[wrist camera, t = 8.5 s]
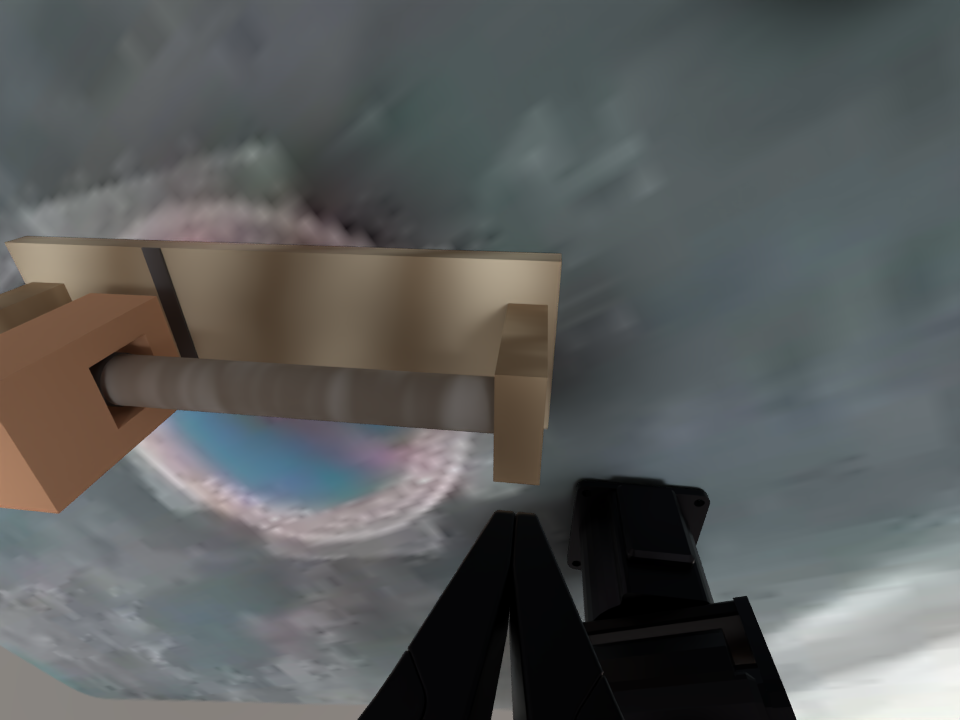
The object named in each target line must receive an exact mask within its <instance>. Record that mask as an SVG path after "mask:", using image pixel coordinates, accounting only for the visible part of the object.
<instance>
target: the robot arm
mask: <svg viewBox="0 0 960 720" xmlns="http://www.w3.org/2000/svg"><path fill="white" fill-rule="evenodd" d="M584 490H589V491H584ZM699 499H701V500H699ZM696 500H699V501H696ZM709 505H710V500H709V498H708V495H707V493H706V492H704V491H702V490H695V489H683V488H671V487H659V486H647V485H635V484H623V483H612V482H600V481H588V480H587V481H581V482H579V483H578V484H577V487H576V495H575V502H574V510H573V518H572V525H571V533H570V541H569V548H568V556H567V560H568V566H569V567H571V568H573V569H578V570H582V582H583V597H584V612H585V622H582V621H581V618H580V616H579V613H578V611H577V609H576V606H575V604H574V602H573V599H572V597H571V595H570V592H569V590H568V587H567V585H566V583H565V580H564V578H563V576H562V573H561V571H560V569H559V566H558V564H557V562H556V559H555V557H554V554H553V552H552V550H551V547H550V545H549V543H548V540H547V538H546V536H545V533H544V531H543V528H542V526H541V524H540V521H539V519H538V517H537V515H536V514H534V513H524V512H518V513H517V514H516V518H515V513H514V512H512V511H503V510H497V511H495V512H494V513H493V515H492V516H491V518H490V519H489V521H488V523H487V524H486V526H485V527H484V529H483V530H482V532H481V534H480V535H479V537H478V538H477V540H476V541H475V543H474V545H473V546H472V548H471V549H470V551H469V552H468V554H467V555H466V557H465V559H464V560H463V562H462V563H461V565H460V566H459V568H458V570H457V571H456V573H455V574H454V576H453V577H452V579H451V581H450V582H449V584H448V585H447V587H446V588H445V590H444V591H443V593H442V595H441V596H440V598H439V599H438V601H437V602H436V604H435V606H434V607H433V609H432V610H431V612H430V613H429V615H428V617H427V618H426V620H425V621H424V623H423V624H422V626H421V628H420V629H419V631H418V632H417V634H416V635H415V637H414V638H413V640H412V642H411V643H410V645H409V646H408V651H405V652H404V654H403V655H402V657H401V658H400V660H399V662H398V663H397V665H396V666H395V668H394V669H393V671H392V672H391V674H390V675H389V677H388V678H387V680H386V681H385V683H384V684H383V686H382V687H381V688H380V690H379V691H378V693H377V694H376V696H375V697H374V699H373V700H372V701H371V702H370V704H369V705H368V706H367V708H366V709H365V710H364V712H363V713H362V714H361V716H360V717H359V718H358V720H491V716H492V711H493V706H494V700H495V695H496V690H497V684H498V679H499V674H500V668H501V663H502V658H503V652H504V647H505V642H506V636H507V630H508V623H509V636H510V659H511V681H512V702H513V720H796V717H795V714H794V712H793V709H792V707H791V704H790V701H789V699H788V696H787V694H786V691H785V689H784V686H783V684H782V681H781V679H780V676H779V674H778V671H777V669H776V666H775V664H774V661H773V659H772V657H771V654H770V652H769V649H768V647H767V644H766V642H765V639H764V637H763V634H762V632H761V630H760V627H759V625H758V622H757V620H756V617H755V615H754V612H753V610H752V607H751V605H750V603H749V600H748V598H747V596H743V597H736V598H733V600H732V601H725V602H719V603H714V601H713V598H712V595H711V592H710V589H709V586H708V582H707V579H706V576H705V573H704V570H703V567H702V563H701V560H700V557H699V554H698V551H697V548H696V544H697V541H698V538H699V535H700V532H701V529H702V526H703V523H704V520H705V517H706V514H707V511H708V508H709ZM509 612H510V620H509Z"/></svg>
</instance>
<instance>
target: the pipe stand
mask: <svg viewBox="0 0 960 720" xmlns="http://www.w3.org/2000/svg"><path fill="white" fill-rule="evenodd" d="M5 244H6V246H7V248H8V250H9V252H10V254H11V256H12V258H13V260H14V262H15V264H16V266H17V268H18V270H19V272H20V274H21V276H22V278H23V280H24V282H25V284H26V285H23V286H21V287H18V288H15V289H13V290H10V291H8V292H5V293H2V294H0V334H1V333H4V332H6V331H8V330H10V329H12V328H15V327H17V326H19V325H21V324H23V323H25V322H28V321H30V320H32V319H34V318H36V317H39V316H41V315H43V314H45V313H47V312H50V311H52V310H54V309H56V308H58V307H61V306H63V305H65V304H67V303H69V302H72V301H74V300H76V299H78V298H80V297H83V296H85V295H87V294H89V293H102V294H124V295H145V296H157V298H158V301H159V304H160V306H161V309H162V312H163V315H164V317H165V320H166V323H167V325H168V328H169V331H170V333H171V336H172V339H173V342H174V344H175V347H176V350H177V352H178V355H179V357H167V356H151V355H135V354H130V353H124V352H114V353H112V354H111V355H109V356H107V357H106V358H104V359H103V360H101V361H99V362H98V363H96V364H94V365H93V366H91V367H90V368H89V370H90V372H91V374H92V376H93V378H94V380H95V382H96V384H97V387H98V389H99V391H100V393H101V395H102V397H103V399H104V401H105V403H106V405H107V406H117V407H122V406H134V407H148V408H161V409H174V410H187V411H201V412H214V413H227V414H241V415H254V416H267V417H281V418H294V419H307V420H321V421H334V422H347V423H360V424H374V425H387V426H400V427H414V428H427V429H440V430H454V431H467V432H480V433H494V467H493V481H495V482H507V483H518V484H530V485H539V482H540V469H541V456H542V443H543V430H544V429H548V421H549V409H550V397H551V385H552V373H553V361H554V349H555V337H556V325H557V313H558V301H559V289H560V276H561V264H562V259H561V254H555V253H525V252H494V251H464V250H433V249H403V248H372V247H341V246H311V245H280V244H250V243H219V242H189V241H158V240H127V239H97V238H66V237H36V236H25V237H22V238H18V239H15V240H11V241H8V242H5Z"/></svg>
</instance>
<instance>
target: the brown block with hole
mask: <svg viewBox="0 0 960 720" xmlns="http://www.w3.org/2000/svg"><path fill="white" fill-rule="evenodd" d="M114 352H124V353H130V354H135V355H151V356H167V357H179V355H178V352H177V350H176V347H175V344H174V342H173V339H172V336H171V333H170V331H169V328H168V325H167V323H166V320H165V317H164V315H163V312H162V309H161V306H160V304H159V301H158V298H157V296H145V295H124V294H102V293H89V294H87V295H85V296H83V297H80V298H78V299H76V300H74V301H72V302H69V303H67V304H65V305H63V306H61V307H58V308H56V309H54V310H52V311H50V312H47V313H45V314H43V315H41V316H39V317H36V318H34V319H32V320H30V321H28V322H25V323H23V324H21V325H19V326H17V327H15V328H12V329H10V330H8V331H6V332H4V333H1V334H0V507H1V508H11V509H20V510H30V511H39V512H49V513H60V512H61V511H62V510H63V509H65V508H66V507H67V506H68V505H69V504H70V503H71V502H73V501H74V500H75V499H76V498H77V497H78V496H79V495H81V494H82V493H83V492H84V491H85V490H86V489H87V488H89V487H90V486H91V485H92V484H93V483H94V482H95V481H97V480H98V479H99V478H100V477H101V476H102V475H103V474H105V473H106V472H107V471H108V470H109V469H110V468H111V467H113V466H114V465H115V464H116V463H117V462H118V461H119V460H121V459H122V458H123V457H124V456H125V455H126V454H127V453H129V452H130V451H131V450H132V449H133V448H134V447H135V446H137V445H138V444H139V443H140V442H141V441H142V440H143V439H145V438H146V437H147V436H148V435H149V434H150V433H151V432H152V431H154V430H155V429H156V428H157V427H158V426H159V425H160V424H162V423H163V422H164V421H165V420H166V419H167V418H168V417H170V416H171V415H172V414H173V413H174V412H175V411H176V410H174V409H161V408H148V407H134V406H122V407H117V406H107V405H106V403H105V401H104V399H103V397H102V395H101V393H100V391H99V389H98V387H97V384H96V382H95V380H94V378H93V376H92V374H91V372H90V370H89V368H90V367H91V366H93V365H94V364H96V363H98V362H99V361H101V360H103V359H104V358H106V357H107V356H109V355H111V354H112V353H114Z"/></svg>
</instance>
